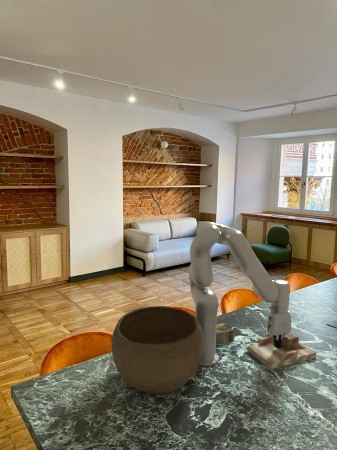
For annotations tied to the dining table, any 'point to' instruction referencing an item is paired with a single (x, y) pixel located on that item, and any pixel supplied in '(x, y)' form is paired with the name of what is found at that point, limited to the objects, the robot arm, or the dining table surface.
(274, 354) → the tan puzzle board
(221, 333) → the juice carton
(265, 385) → the dining table surface
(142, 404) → the dining table surface
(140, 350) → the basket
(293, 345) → the light brown block
